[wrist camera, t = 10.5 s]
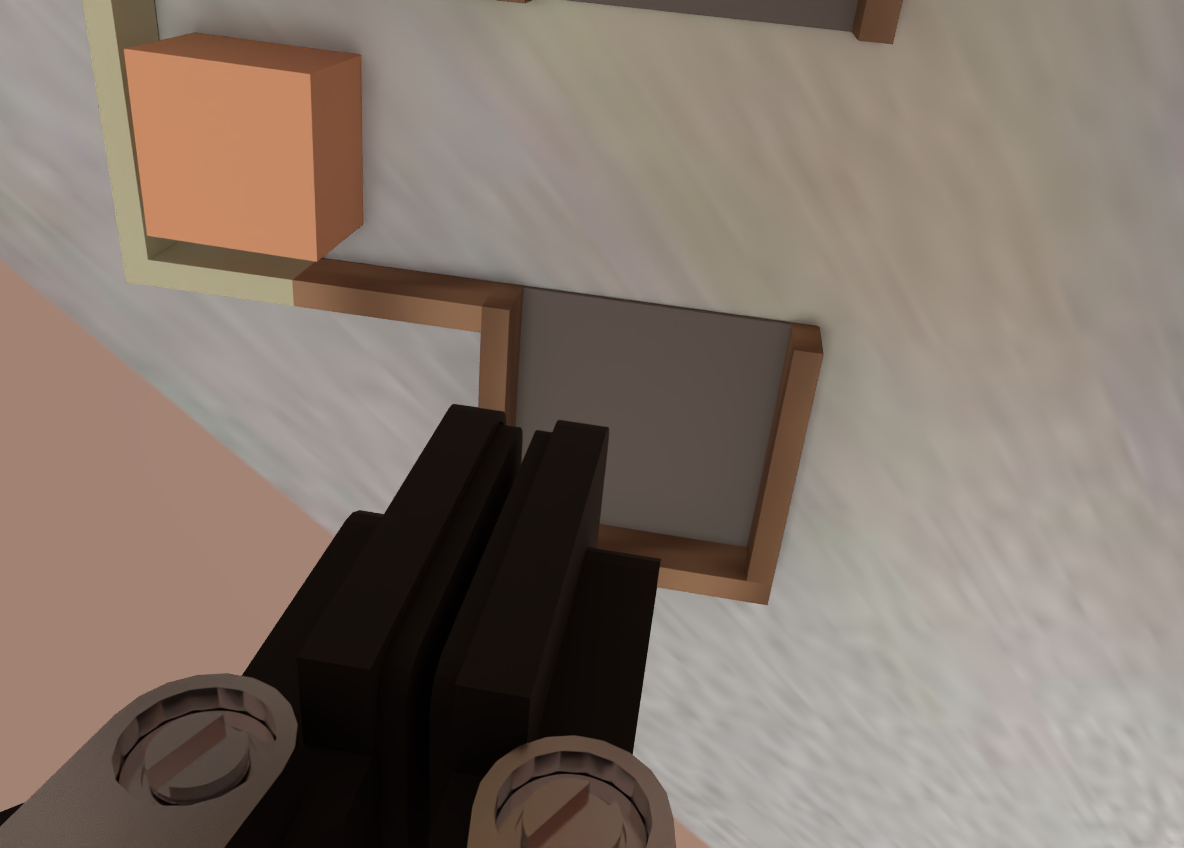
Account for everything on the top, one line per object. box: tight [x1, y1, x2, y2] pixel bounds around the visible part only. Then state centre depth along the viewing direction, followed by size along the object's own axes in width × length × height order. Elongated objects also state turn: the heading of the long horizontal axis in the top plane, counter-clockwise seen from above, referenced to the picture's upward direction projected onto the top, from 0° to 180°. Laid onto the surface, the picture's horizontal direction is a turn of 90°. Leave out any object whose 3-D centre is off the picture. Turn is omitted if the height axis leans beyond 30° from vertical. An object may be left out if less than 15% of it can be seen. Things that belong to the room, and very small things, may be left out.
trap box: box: [82, 0, 903, 605], centre depth 33 cm, size 26×32×2 cm
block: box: [124, 33, 363, 262], centre depth 33 cm, size 6×6×4 cm
